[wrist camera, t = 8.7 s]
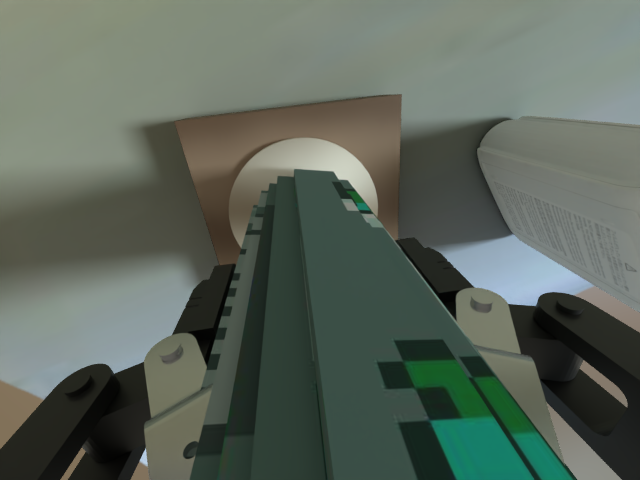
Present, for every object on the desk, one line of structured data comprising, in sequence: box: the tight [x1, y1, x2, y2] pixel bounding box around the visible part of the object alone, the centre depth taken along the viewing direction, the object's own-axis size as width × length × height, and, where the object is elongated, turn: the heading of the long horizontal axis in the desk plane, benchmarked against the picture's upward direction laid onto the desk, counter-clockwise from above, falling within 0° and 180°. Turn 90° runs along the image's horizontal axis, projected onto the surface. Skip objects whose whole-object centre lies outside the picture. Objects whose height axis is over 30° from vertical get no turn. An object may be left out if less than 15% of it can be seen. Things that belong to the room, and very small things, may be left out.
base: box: [174, 94, 402, 265], centre depth 19 cm, size 12×12×4 cm
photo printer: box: [477, 116, 640, 313], centre depth 16 cm, size 10×4×12 cm, turn 38°
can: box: [186, 169, 577, 480], centre depth 9 cm, size 6×6×15 cm
